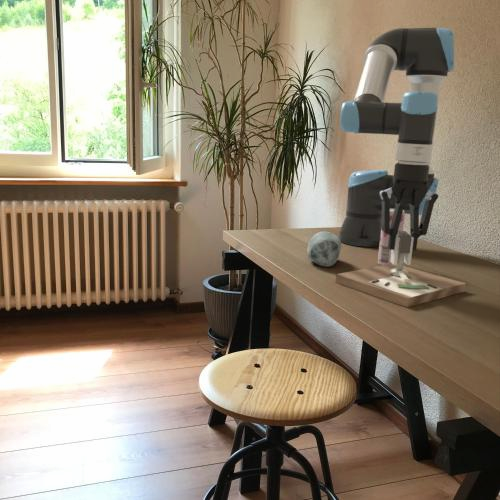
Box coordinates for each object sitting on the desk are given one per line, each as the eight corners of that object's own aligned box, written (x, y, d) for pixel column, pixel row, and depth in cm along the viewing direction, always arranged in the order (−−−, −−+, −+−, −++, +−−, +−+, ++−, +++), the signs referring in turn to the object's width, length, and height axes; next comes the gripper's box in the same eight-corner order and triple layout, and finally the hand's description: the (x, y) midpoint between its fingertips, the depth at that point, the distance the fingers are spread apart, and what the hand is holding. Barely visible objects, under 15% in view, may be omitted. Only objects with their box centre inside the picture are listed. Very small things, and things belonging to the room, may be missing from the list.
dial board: (393, 270, 136) (394, 261, 135) (464, 291, 121) (466, 281, 120) (335, 282, 123) (336, 272, 122) (407, 307, 107) (408, 296, 107)
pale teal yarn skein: (347, 259, 132) (332, 222, 133) (312, 273, 134) (298, 237, 135) (349, 259, 145) (335, 226, 146) (317, 272, 147) (304, 239, 148)
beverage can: (395, 262, 145) (402, 208, 142) (401, 267, 139) (407, 212, 136) (375, 261, 145) (381, 207, 142) (379, 266, 139) (386, 211, 136)
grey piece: (388, 270, 127) (392, 230, 125) (404, 271, 127) (409, 231, 125) (396, 283, 116) (402, 239, 114) (415, 284, 116) (420, 241, 114)
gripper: (382, 162, 114) (371, 266, 120) (453, 166, 115) (438, 268, 120) (373, 160, 121) (363, 257, 127) (440, 163, 122) (427, 260, 127)
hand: (400, 263), depth 123 cm, fingers closed on grey piece, 3 cm apart
